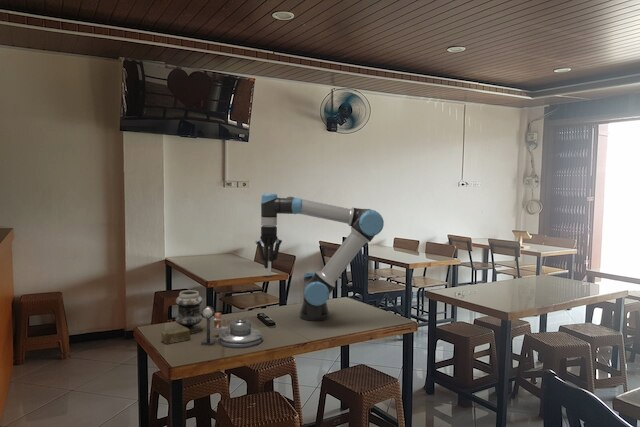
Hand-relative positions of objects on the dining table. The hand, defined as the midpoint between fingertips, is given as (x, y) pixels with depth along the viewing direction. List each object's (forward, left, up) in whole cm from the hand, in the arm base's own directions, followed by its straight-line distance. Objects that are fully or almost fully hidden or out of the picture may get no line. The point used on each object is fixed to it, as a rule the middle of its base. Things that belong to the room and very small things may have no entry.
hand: (268, 274), depth 234 cm
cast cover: (+9, +24, -21) cm, 33 cm away
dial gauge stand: (+21, +28, -24) cm, 42 cm away
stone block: (+37, +26, -25) cm, 51 cm away
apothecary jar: (+35, +12, -25) cm, 44 cm away
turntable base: (+9, +24, -24) cm, 35 cm away
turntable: (+11, +23, -23) cm, 34 cm away
